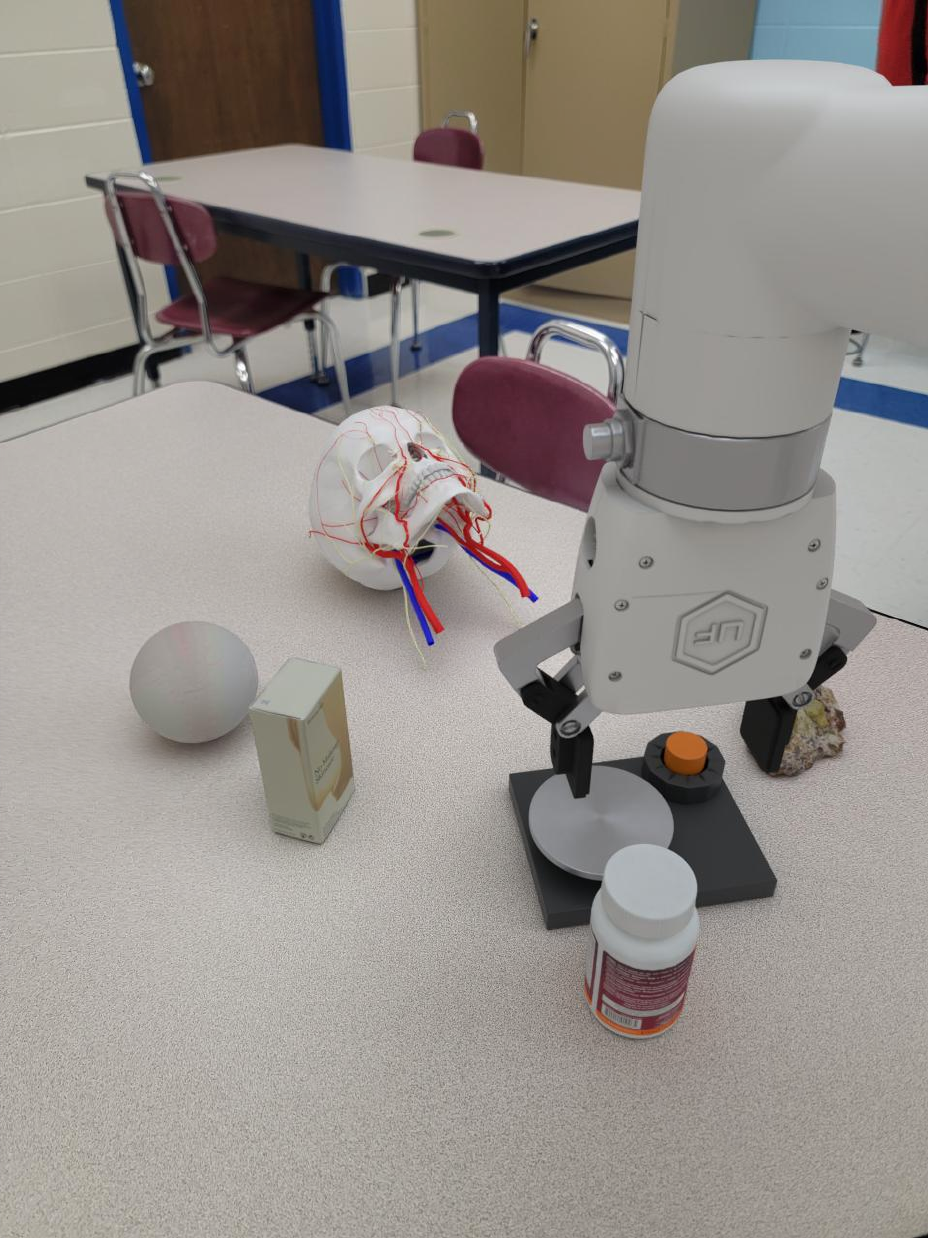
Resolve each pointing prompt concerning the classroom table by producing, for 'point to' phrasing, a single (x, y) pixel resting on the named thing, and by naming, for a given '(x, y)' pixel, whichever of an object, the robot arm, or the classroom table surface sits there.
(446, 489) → the anatomical skull model
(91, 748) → the classroom table surface
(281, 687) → the cosmetic box
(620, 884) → the pill bottle
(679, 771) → the tare button
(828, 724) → the mineral rock
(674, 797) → the scale
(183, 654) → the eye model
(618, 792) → the weighing pan
